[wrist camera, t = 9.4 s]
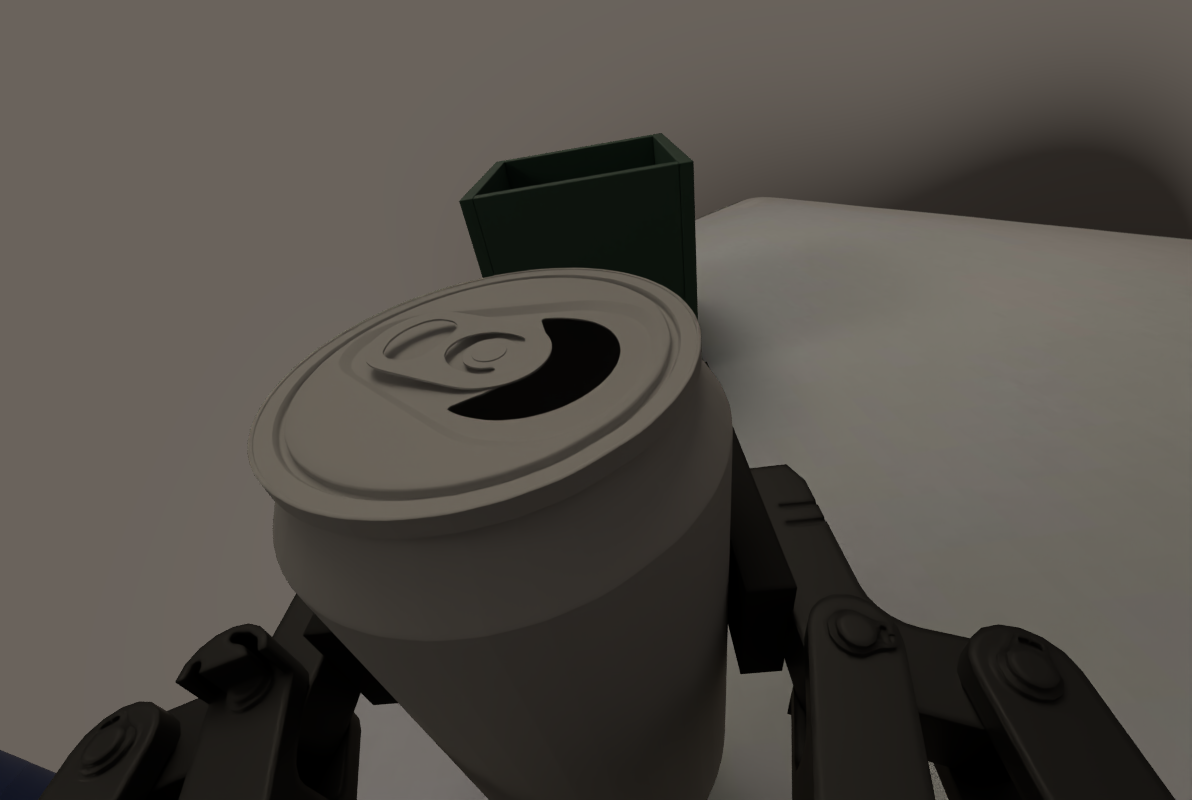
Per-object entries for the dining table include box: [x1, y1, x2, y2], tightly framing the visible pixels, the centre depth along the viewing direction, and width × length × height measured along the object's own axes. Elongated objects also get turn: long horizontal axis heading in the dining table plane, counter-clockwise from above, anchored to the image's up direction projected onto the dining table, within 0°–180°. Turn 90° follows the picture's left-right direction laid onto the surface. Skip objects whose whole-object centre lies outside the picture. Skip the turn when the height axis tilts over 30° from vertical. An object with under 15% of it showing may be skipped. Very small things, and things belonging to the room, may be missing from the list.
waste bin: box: [459, 133, 698, 321], centre depth 36 cm, size 14×14×14 cm
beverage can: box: [248, 268, 733, 800], centre depth 10 cm, size 6×6×12 cm
